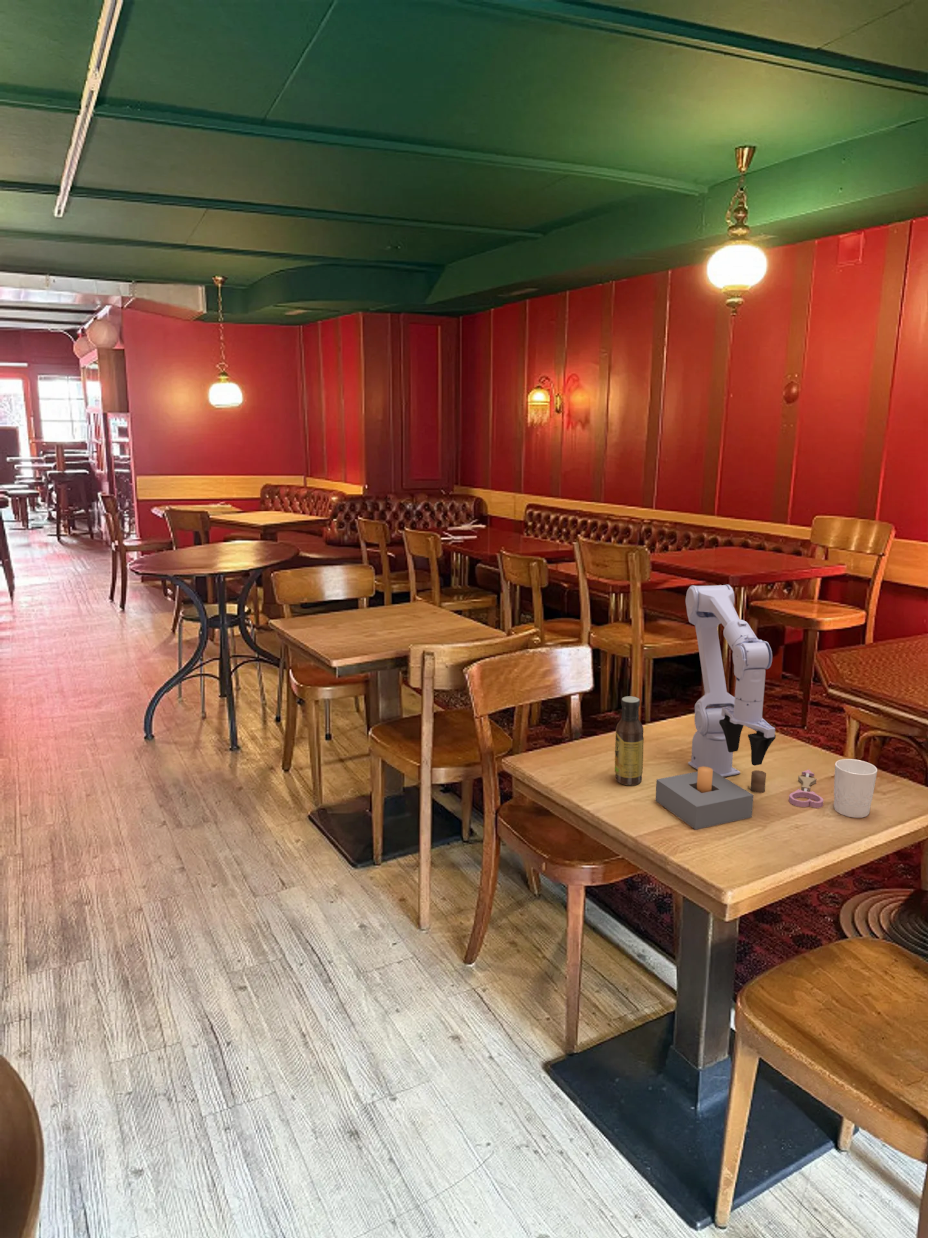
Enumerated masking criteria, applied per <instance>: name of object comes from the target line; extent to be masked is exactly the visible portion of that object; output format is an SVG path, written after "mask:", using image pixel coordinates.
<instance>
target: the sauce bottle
mask: <svg viewBox="0 0 928 1238" xmlns="http://www.w3.org/2000/svg"><path fill="white" fill-rule="evenodd" d="M640 701H641V700H640V698H639V697H636V696H631V695H629V696H628V695H627V696H624V697H622V698H621V703H620V705H621V718H620V720H619V721H618V723H617V724H616V727H615V741H614V742H615V743H614V744H615V746H614V773H615V775H614V777H615V780H616V782H617V783H619V784H621V785H624V786H637V785H639V784H640V783H641V782H642V780H643V769H644V738H645V737H644V726H643V724H642V722H641V721H640V715H639V712H640V710H639V709H640V705H641V702H640Z"/></svg>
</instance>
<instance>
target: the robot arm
mask: <svg viewBox="0 0 928 1238" xmlns="http://www.w3.org/2000/svg"><path fill="white" fill-rule="evenodd" d="M685 595H686V596H685V606H686V615H687V618H688V622H689V623H690V624H692V625H694V628H695V633H696V640H697V648H698V653H699V661H700V667H701V674H702V682H703V687H704V688H703V689H704V695H702V696H701V697H700V698H699V699H698V700H697V701H696V703H695V704H694V726H695V729H696V731H695V733H694V734H693V737H692V739H691V740H692V741H691V755H690V758H691V759H690V761H688V762H687V765H689V766H690V767H692V768H694V769H695V770H697V771H698V768H699V767H702V766H705V767H710V768H712V769H713V771H714V772H716V773H718V774H719V775H721V776H723V777H724V778H726V777H729V776H734V775H735V776H736V775H739V774H741V771H740V770H738V768H737V769H736V768H735V767H733V759H734V757H733V756H734V753H735V752H738V751H739V747H740V742H741V740H740V739H741V735H742V731H743V728H744V726H745V727H747V728H748V729H751V730H753V731H755V733H749V734H747V737H748V740H749V741H748V742H749V744H750V748H751V749H750V751H751V753H750V758H751V759H750V761H751V765H752V766H761V765H762V763H763V761H764V758H765V756H766V753H767V751H768V749H769V748H770V746H771V745H772V744H773V742H774V741H775V740H776V728H775V727H774V726H772V725H771V724H770V723H768V722H767V721H766V720H765V719H764V718H763V708H764V696H765V683H766V670H768V669H770V668H771V666H772V662H773V651H772V648H771V646H770V644H769V642H768V641H765V640H762V639H759V638H758V637H757V635H756V634H755V632H754V631H753V629H752V628H751V625H750V624H749V623H748V622H747V621H745V619H740V617H739V615H738V613H737V611H736V608H735V606H734V604H735V591H734V588H733V587H732V586H731V585H730V584H729V583H728V584H723V585H719V584H718V585H690V586H689V587H688V589H687V591H686V594H685ZM720 624H721V625H722V626H723V627H724V628H723V630H722V631H723V637H724V638H725V640H726V642H727V645H729V648H730V649H731V651H732V663H733V673H734V676H735V688H734V689H735V691H734V696H733V695H732V694H730V693H729V692H728V690H727V684H726V683H727V682H726V678H725V671H724V665H723V659H722V658H723V657H722V650H721V645H720V639H719V631H718V630H719V629H718V627H719V625H720Z"/></svg>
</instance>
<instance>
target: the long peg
mask: <svg viewBox="0 0 928 1238" xmlns="http://www.w3.org/2000/svg"><path fill="white" fill-rule="evenodd" d="M697 772H698V776H697V790H698V791H699V792H701V793H705V792H710V791H711V790H712V776H713V769H712V768H710V767H705V766H702V767H699V768H698V770H697Z"/></svg>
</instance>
